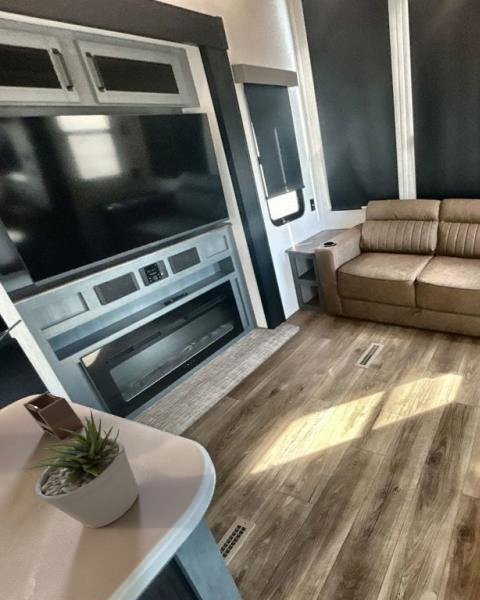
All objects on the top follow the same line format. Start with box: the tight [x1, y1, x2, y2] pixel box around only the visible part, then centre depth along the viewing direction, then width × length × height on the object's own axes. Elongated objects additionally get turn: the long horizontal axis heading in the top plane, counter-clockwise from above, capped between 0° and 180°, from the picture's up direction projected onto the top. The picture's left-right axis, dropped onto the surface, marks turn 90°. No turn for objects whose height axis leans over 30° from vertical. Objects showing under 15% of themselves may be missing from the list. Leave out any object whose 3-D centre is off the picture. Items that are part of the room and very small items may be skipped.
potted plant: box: [28, 410, 139, 529], centre depth 64 cm, size 13×14×20 cm
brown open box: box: [22, 390, 84, 441], centre depth 87 cm, size 8×5×9 cm, turn 65°
